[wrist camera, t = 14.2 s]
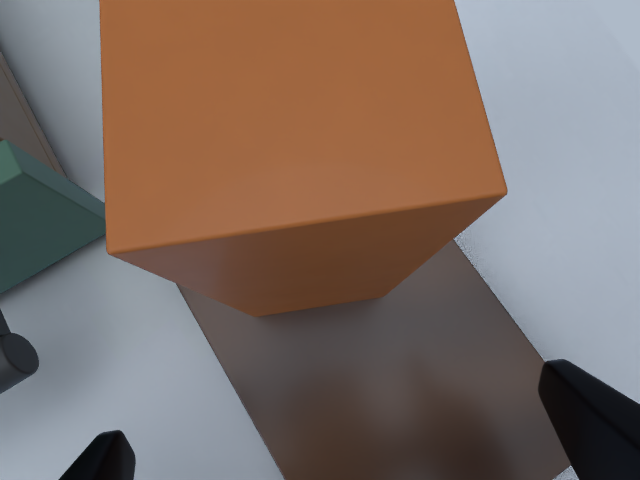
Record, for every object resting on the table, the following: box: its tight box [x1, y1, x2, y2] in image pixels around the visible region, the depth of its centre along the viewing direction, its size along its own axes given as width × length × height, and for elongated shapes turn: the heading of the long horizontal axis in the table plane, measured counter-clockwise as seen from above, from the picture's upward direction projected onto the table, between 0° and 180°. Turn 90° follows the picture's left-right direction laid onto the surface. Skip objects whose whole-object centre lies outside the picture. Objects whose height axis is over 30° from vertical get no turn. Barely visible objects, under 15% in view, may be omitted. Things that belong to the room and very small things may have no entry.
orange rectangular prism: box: [99, 0, 507, 317], centre depth 11 cm, size 4×5×11 cm
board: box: [176, 239, 571, 480], centre depth 16 cm, size 14×10×1 cm
